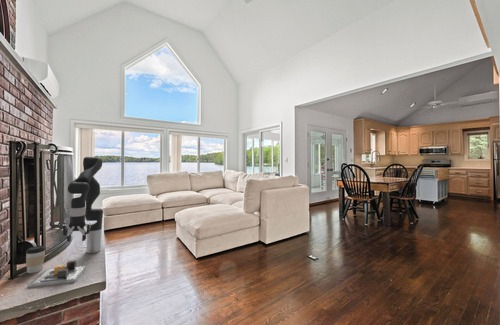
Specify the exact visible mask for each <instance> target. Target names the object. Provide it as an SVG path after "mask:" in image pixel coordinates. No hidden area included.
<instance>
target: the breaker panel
mask: <svg viewBox="0 0 500 325" xmlns="http://www.w3.org/2000/svg"><path fill="white" fill-rule="evenodd" d="M86 269H87V266H86V265H83V266H81V265H80V266H77V260H68V261H67V262H66V266H64V269H60V270H59V271H58V274H55V275H54V268H49V269H47V268H46V269H42V271H41V272H40V273H38V274H37V275H36V276H35V277H34V278H32V280H30V281H29V282H28V283H27V285H26V286H27V288H36V287H43V286H51V285H53V286H54V285H61V284H62V285H64V284H71V283H76V281H77V280H78V279H79V278H80V277H81V275H82V274H83V273H84V272H85V271H86Z"/></svg>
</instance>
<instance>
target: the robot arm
mask: <svg viewBox="0 0 500 325" xmlns="http://www.w3.org/2000/svg"><path fill="white" fill-rule="evenodd" d="M82 166H83V171H82V172H81V173H79V175H78V177H77V178H75V179H73V181H71V182H69V184H68V187H67V192H68V193H69V194H71V195H76V194H77V195H80V196H76V197H73V198H71V202H70V210H69V224H64V225H62V234H63V236H66V241H67V242H68V243H70V242H72V233H73V232H80V233H81V234H82V237H81V238H82V239H81V242H84V241H85V240H86V249H85V252H86V253H87V254H95V253H98V252H100V251H101V250H102V228H103V217H104V211H103V208H92V206H93V204H94V202H95V201H96V200H97V199H98V197H99V196H100V194H101V185H100V182H98V180H97V179H96V178H95V177H94V176H95V175H96V174H97V173H98V172H99V171H100V170H101V169H102V166H103V159H102V157H98V156H85V157H84V158H83V161H82ZM86 221H87V222H95V223H86ZM68 228H69V229H70V230H69V231H68ZM85 228H86V229H85Z"/></svg>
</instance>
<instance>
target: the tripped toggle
mask: <svg viewBox="0 0 500 325" xmlns="http://www.w3.org/2000/svg"><path fill="white" fill-rule="evenodd" d="M64 267H66V266H65V265H64V264H58V265H56V266H54V268H53V269H54V275H55V274H58V271H59V270H60V269H64Z"/></svg>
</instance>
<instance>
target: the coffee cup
mask: <svg viewBox="0 0 500 325" xmlns="http://www.w3.org/2000/svg"><path fill="white" fill-rule="evenodd" d="M33 246H34V245H31V247H29V248H28V249H27V250H26V251H25V255H26V256H25V265H26V272H27V274H34V273H37V271H38V272H40V271H41V269H42V270H43V265H44V263H45V262H44V261H45V254H46V253H45V251H46V247H45V246H44V245H37V246H38V247H33ZM39 270H40V271H39ZM33 272H34V273H33Z"/></svg>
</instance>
